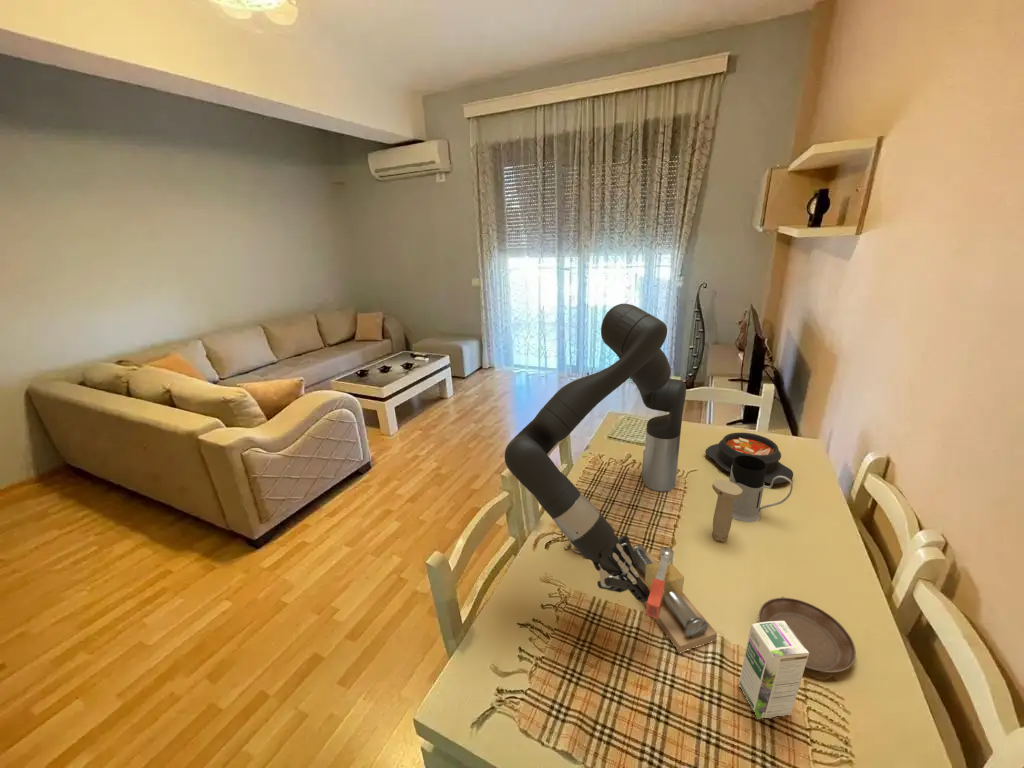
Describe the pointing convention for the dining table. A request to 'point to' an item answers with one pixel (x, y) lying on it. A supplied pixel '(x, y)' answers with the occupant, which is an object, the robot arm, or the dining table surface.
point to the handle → (724, 507)
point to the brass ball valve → (671, 593)
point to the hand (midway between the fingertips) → (646, 597)
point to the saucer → (813, 633)
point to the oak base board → (673, 625)
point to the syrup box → (772, 668)
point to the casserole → (750, 454)
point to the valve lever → (659, 583)
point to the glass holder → (750, 487)
